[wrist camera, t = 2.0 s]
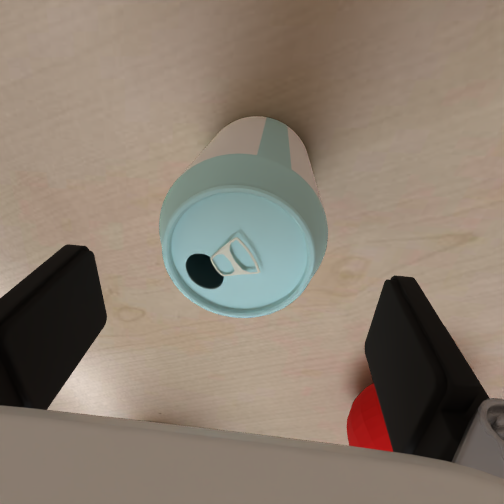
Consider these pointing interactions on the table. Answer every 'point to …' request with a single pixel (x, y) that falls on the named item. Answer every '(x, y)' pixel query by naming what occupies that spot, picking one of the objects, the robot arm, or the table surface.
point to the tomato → (368, 422)
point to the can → (245, 221)
